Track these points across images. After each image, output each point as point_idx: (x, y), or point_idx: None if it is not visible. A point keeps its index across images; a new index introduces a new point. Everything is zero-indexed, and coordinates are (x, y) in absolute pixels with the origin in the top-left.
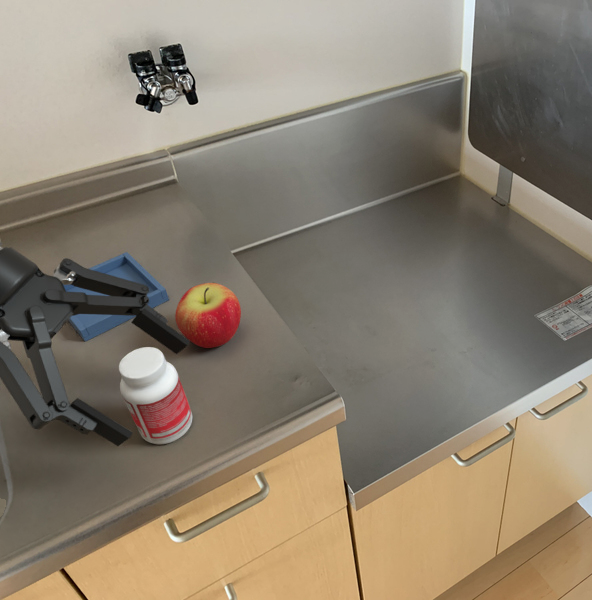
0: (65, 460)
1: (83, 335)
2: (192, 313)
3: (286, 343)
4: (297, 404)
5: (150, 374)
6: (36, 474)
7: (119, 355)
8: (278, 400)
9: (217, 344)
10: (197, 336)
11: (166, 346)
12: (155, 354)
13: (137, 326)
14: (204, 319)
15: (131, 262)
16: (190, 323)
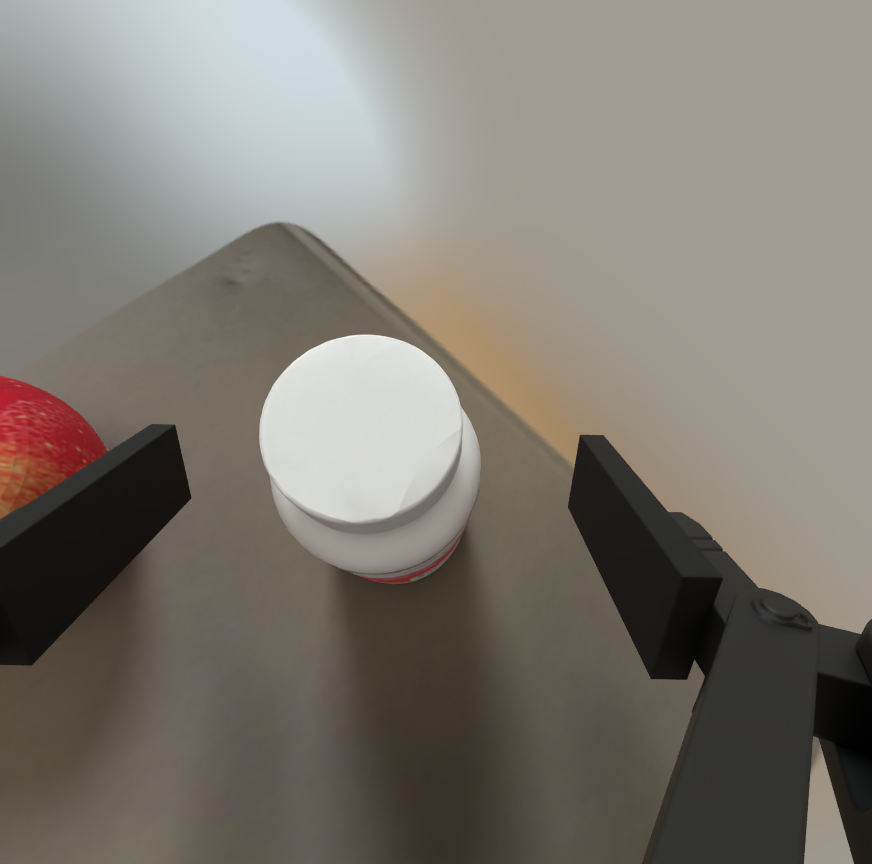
0: (560, 754)
1: None
2: None
3: (111, 330)
4: (306, 263)
5: (425, 355)
6: (627, 825)
7: (118, 831)
8: (297, 299)
9: None
10: None
11: (164, 521)
12: (307, 382)
13: (62, 630)
14: (23, 433)
15: None
16: (34, 489)
